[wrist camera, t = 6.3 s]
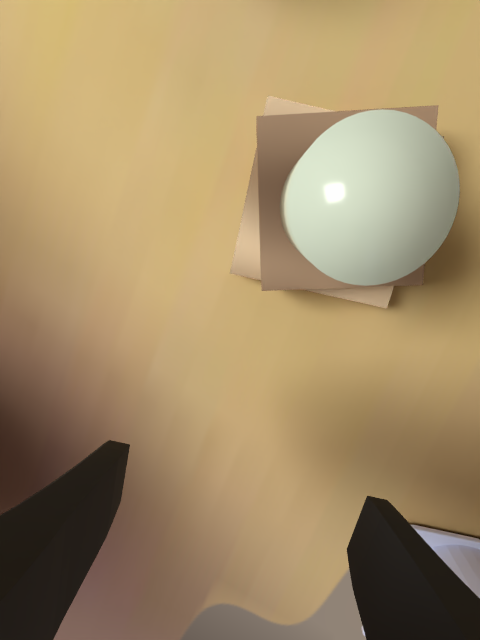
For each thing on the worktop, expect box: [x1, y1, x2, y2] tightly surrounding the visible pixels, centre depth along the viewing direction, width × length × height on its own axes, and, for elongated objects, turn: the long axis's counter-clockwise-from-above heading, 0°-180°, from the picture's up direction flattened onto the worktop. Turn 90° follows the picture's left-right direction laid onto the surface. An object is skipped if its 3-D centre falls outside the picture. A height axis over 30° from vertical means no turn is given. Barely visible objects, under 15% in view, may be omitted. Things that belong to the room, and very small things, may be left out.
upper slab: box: [256, 105, 438, 291], centre depth 16 cm, size 7×7×2 cm
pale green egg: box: [280, 109, 460, 286], centre depth 13 cm, size 5×5×4 cm
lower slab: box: [230, 96, 444, 308], centre depth 18 cm, size 8×8×2 cm
